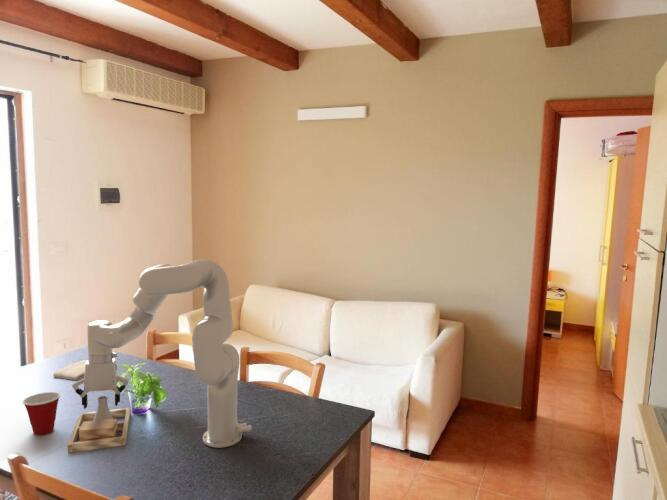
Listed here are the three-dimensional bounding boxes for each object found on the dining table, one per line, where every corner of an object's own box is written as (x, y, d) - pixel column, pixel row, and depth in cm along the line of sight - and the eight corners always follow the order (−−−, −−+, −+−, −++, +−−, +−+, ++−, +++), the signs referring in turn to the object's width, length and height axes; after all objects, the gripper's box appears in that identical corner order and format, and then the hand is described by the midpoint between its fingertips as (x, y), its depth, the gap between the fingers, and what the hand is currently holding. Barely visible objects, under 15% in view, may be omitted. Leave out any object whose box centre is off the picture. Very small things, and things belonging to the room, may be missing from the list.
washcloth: (106, 367, 223) (106, 360, 222) (76, 382, 205) (76, 375, 205) (84, 364, 226) (84, 357, 225) (52, 378, 208) (52, 371, 208)
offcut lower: (117, 435, 164) (117, 426, 163) (115, 444, 158) (114, 435, 158) (84, 439, 161) (83, 430, 160) (80, 448, 155) (80, 439, 155)
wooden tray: (130, 414, 178) (130, 407, 177) (125, 445, 157) (125, 437, 157) (79, 420, 172) (79, 413, 172) (68, 452, 152) (67, 445, 151)
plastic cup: (56, 420, 172) (54, 387, 170) (66, 431, 164) (64, 397, 163) (20, 430, 164) (18, 396, 163) (29, 442, 157) (27, 407, 155)
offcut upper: (117, 427, 163) (116, 418, 163) (113, 436, 157) (113, 427, 157) (84, 430, 161) (83, 421, 160) (79, 439, 155) (78, 430, 155)
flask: (119, 424, 171) (118, 396, 169) (99, 432, 165) (98, 404, 163) (106, 418, 174) (105, 391, 173) (87, 426, 168) (86, 398, 167)
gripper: (129, 352, 173) (129, 398, 175) (73, 355, 167) (74, 403, 169) (127, 359, 166) (127, 407, 168) (69, 363, 160) (71, 413, 162)
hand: (101, 405), depth 169 cm, fingers open, 9 cm apart
